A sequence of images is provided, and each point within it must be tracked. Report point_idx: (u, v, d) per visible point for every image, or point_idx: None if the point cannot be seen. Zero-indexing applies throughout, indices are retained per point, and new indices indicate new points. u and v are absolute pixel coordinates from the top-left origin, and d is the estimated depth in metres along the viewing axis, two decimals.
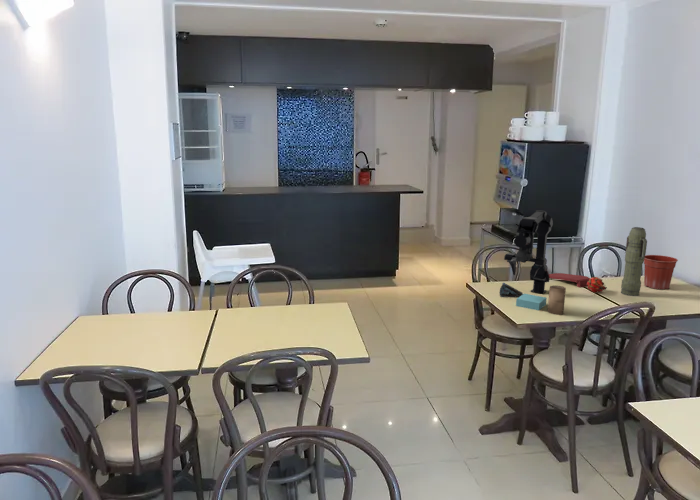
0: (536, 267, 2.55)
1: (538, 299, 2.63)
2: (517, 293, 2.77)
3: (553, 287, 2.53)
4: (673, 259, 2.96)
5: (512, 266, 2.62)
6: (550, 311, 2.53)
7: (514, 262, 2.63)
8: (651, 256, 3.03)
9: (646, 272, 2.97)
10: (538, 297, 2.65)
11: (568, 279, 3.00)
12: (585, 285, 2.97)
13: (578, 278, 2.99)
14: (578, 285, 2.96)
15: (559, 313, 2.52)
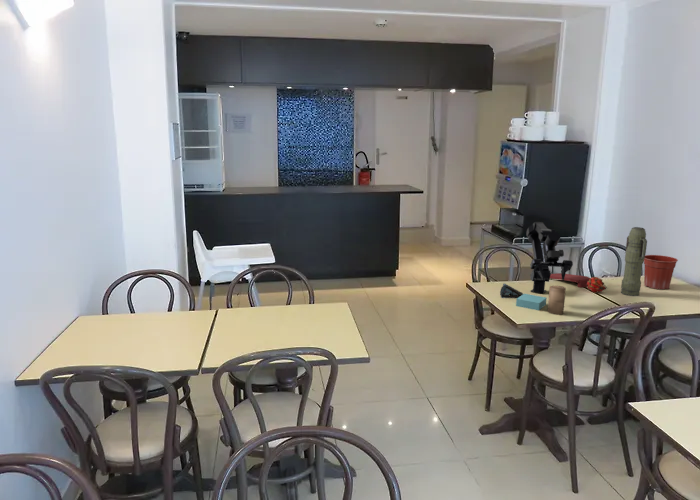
0: (566, 267, 2.61)
1: (538, 299, 2.63)
2: (518, 294, 2.76)
3: (553, 287, 2.53)
4: (673, 259, 2.96)
5: (541, 270, 2.62)
6: (550, 311, 2.53)
7: None
8: (651, 256, 3.03)
9: (646, 272, 2.97)
10: (538, 297, 2.65)
11: (569, 279, 2.99)
12: (586, 285, 2.97)
13: (579, 278, 2.99)
14: (579, 285, 2.96)
15: (559, 313, 2.52)
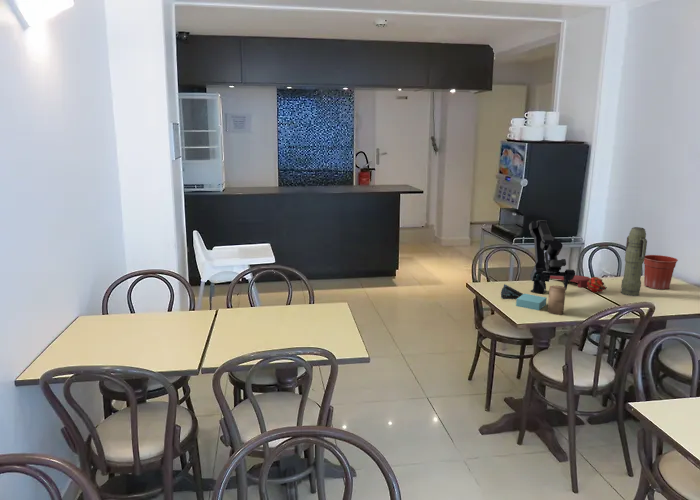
0: (568, 277, 2.57)
1: (538, 299, 2.63)
2: (519, 295, 2.75)
3: (553, 287, 2.53)
4: (673, 259, 2.96)
5: (543, 279, 2.58)
6: (550, 311, 2.53)
7: None
8: (651, 256, 3.03)
9: (646, 272, 2.97)
10: (538, 297, 2.65)
11: None
12: (586, 285, 2.96)
13: (579, 278, 2.98)
14: (579, 285, 2.95)
15: (559, 313, 2.52)
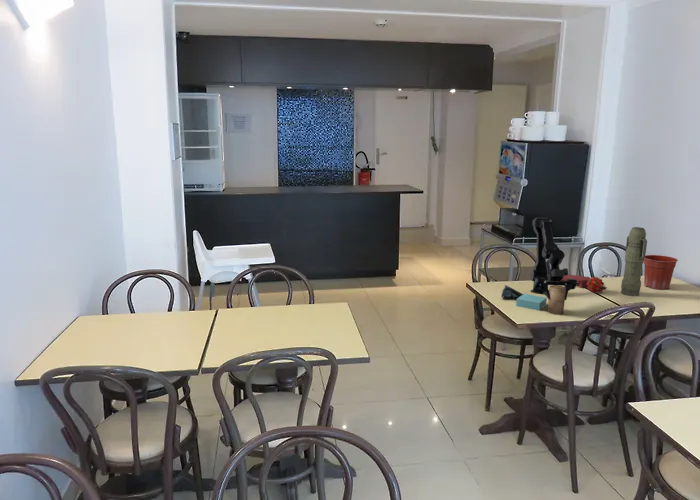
0: (568, 286, 2.53)
1: (538, 299, 2.63)
2: (519, 295, 2.73)
3: (553, 287, 2.53)
4: (673, 259, 2.96)
5: (547, 289, 2.54)
6: (550, 311, 2.53)
7: None
8: (651, 256, 3.03)
9: (646, 272, 2.97)
10: (538, 297, 2.65)
11: None
12: (587, 286, 2.96)
13: (580, 279, 2.98)
14: (580, 286, 2.95)
15: (559, 313, 2.52)
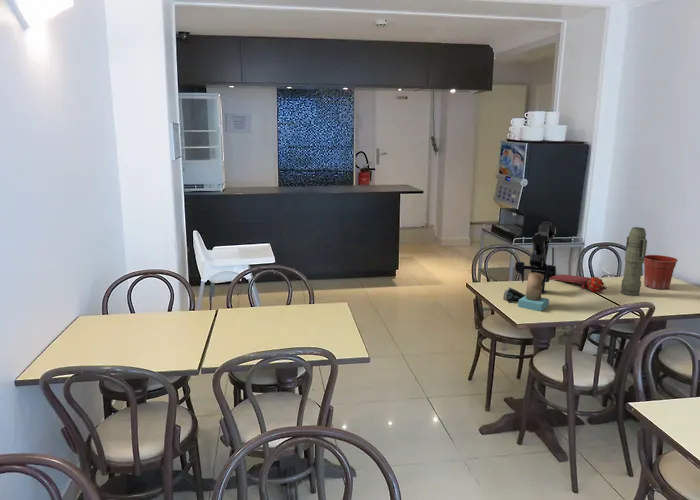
0: (547, 272, 2.59)
1: (540, 300, 2.61)
2: None
3: (532, 273, 2.62)
4: (673, 259, 2.96)
5: (522, 272, 2.64)
6: (526, 296, 2.63)
7: (523, 271, 2.66)
8: (651, 256, 3.03)
9: (646, 272, 2.97)
10: None
11: (572, 281, 2.97)
12: None
13: (582, 280, 2.96)
14: (582, 287, 2.93)
15: (533, 299, 2.60)
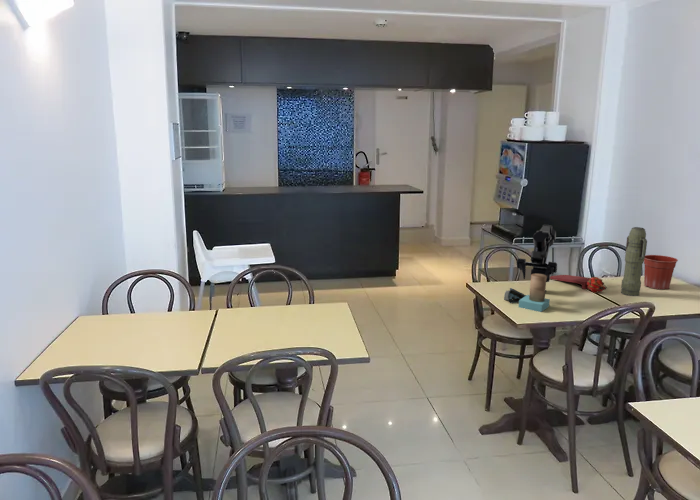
0: (548, 269, 2.62)
1: None
2: None
3: (534, 275, 2.60)
4: (673, 259, 2.96)
5: (523, 269, 2.67)
6: (530, 298, 2.61)
7: (525, 268, 2.69)
8: (651, 256, 3.03)
9: (646, 272, 2.97)
10: None
11: (573, 281, 2.96)
12: None
13: (583, 280, 2.95)
14: (583, 287, 2.92)
15: (538, 300, 2.58)
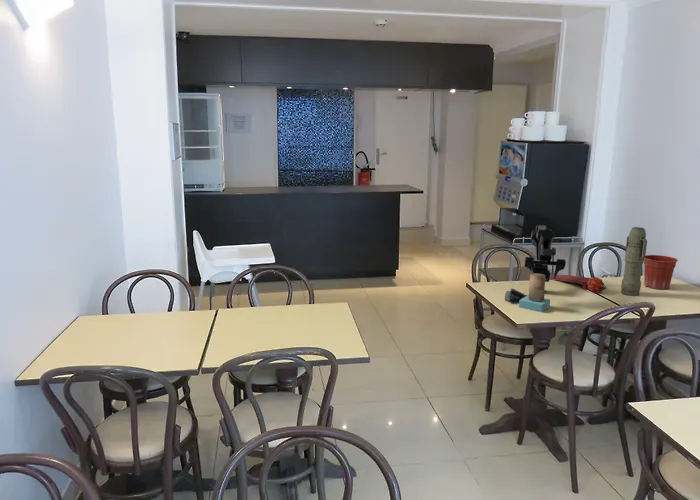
0: (558, 266, 2.62)
1: None
2: (523, 297, 2.71)
3: (533, 274, 2.60)
4: (673, 259, 2.96)
5: (533, 267, 2.65)
6: (530, 298, 2.61)
7: (533, 266, 2.67)
8: (651, 256, 3.03)
9: (646, 272, 2.97)
10: None
11: (574, 281, 2.96)
12: None
13: (584, 280, 2.95)
14: (584, 287, 2.92)
15: (538, 300, 2.58)
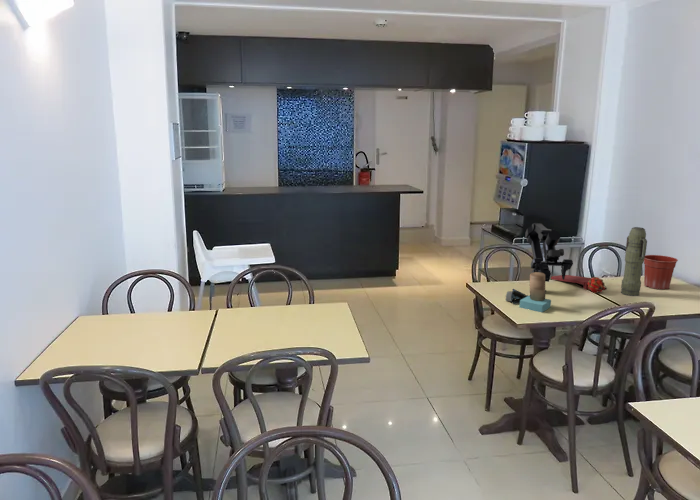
0: (566, 266, 2.62)
1: (542, 301, 2.60)
2: (524, 297, 2.70)
3: (533, 274, 2.60)
4: (673, 259, 2.96)
5: (542, 269, 2.62)
6: (531, 297, 2.62)
7: None
8: (651, 256, 3.03)
9: (646, 272, 2.97)
10: None
11: (574, 281, 2.96)
12: None
13: (585, 280, 2.95)
14: (585, 287, 2.92)
15: (538, 299, 2.59)
